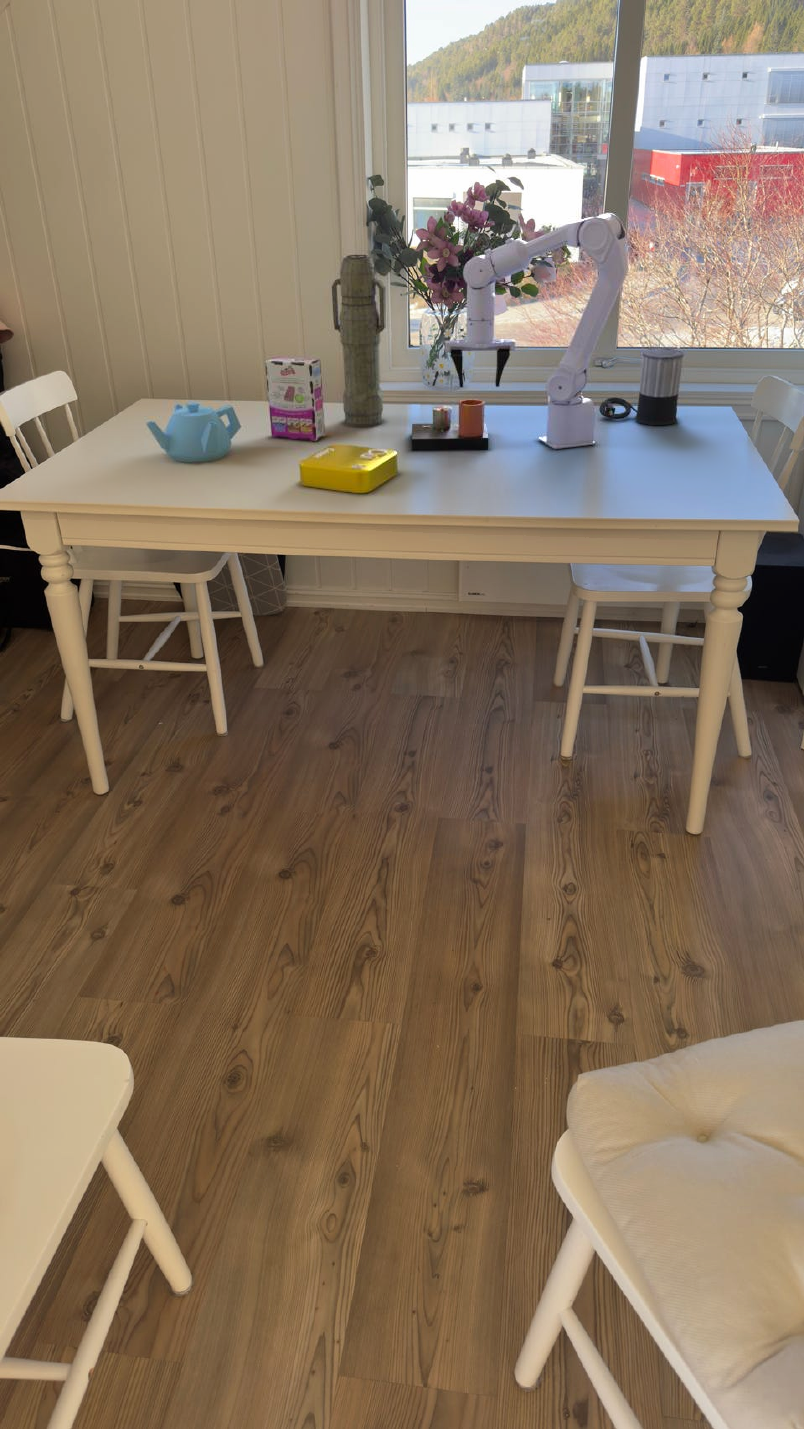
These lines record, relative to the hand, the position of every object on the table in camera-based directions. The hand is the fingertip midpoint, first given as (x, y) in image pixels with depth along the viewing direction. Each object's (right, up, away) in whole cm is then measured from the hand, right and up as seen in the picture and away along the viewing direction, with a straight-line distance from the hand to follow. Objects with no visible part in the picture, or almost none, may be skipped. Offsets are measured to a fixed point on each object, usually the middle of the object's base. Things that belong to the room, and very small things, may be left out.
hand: (479, 386), depth 219 cm
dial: (-8, -8, +2) cm, 11 cm away
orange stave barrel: (-2, -11, -3) cm, 11 cm away
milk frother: (+37, -3, +14) cm, 40 cm away
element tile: (-27, -25, -20) cm, 41 cm away
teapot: (-59, -16, -3) cm, 62 cm away
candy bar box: (-39, -9, +7) cm, 41 cm away
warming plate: (-6, -12, +1) cm, 13 cm away
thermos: (-25, -3, +16) cm, 30 cm away
